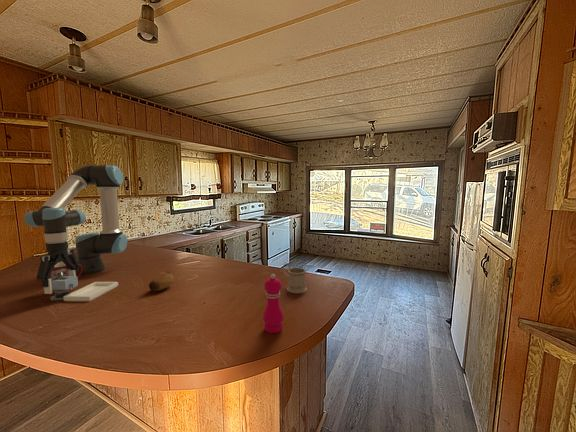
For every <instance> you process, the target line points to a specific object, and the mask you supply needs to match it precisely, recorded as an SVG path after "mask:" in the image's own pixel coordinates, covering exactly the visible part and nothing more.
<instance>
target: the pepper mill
mask: <svg viewBox="0 0 576 432" xmlns="http://www.w3.org/2000/svg"><path fill="white" fill-rule="evenodd" d="M263 287H264V289H265V296H266V298H267V303H266V306H265V309H264V311H263V314H262V320H263V322H264V331H265V332H267V333H269V334H277V333H280V332H281V331H282V330H283V321H284V312H283V309H282V307H281V306H280V302H279V301H280V297H281V289H282V281H281V280H280V279H279V278H277V277H276V274H274V273H272V274H270V278H267V279H266V280H265V282H264V286H263Z"/></svg>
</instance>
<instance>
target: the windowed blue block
mask: <svg viewBox="0 0 576 432" xmlns="http://www.w3.org/2000/svg"><path fill="white" fill-rule="evenodd" d="M49 279H51V285H52V291H54V290H66V289H69V288H74V289H75V288H77V287H78V285H79V281H78V279H79V278H78V279H77V275H76V276H63V279H64V280H58V279H57V276H55V277H53V278H51V277H49ZM42 288H43V289H44V287H43V286H42Z"/></svg>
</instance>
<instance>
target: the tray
mask: <svg viewBox="0 0 576 432" xmlns="http://www.w3.org/2000/svg"><path fill="white" fill-rule="evenodd" d="M117 287H119V282H118V281H94V282H92V283H90V284H87V285H85V286H83V287H81V288H78V289H76V290H74V291H72V293H70V294H68V295H66V296H63V297H64V300H63V301H64V302H91V301H94V300H95V299H97V298H99V297H101V296H102V295H104V294H106V293H108V292H110V291H112V290H113V289H115V288H117Z"/></svg>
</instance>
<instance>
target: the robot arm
mask: <svg viewBox="0 0 576 432" xmlns="http://www.w3.org/2000/svg"><path fill="white" fill-rule="evenodd" d="M123 182H124V175H123V172H122V170H121V169H120V168H119V167H118V166H116V165H111V164H110V165H109V164H100V165H99V164H88V165H84V166H81V167H79V168H77V169H76V170H74V171H72V172H71V173H70V174H69V175H68V176H67V177H66V181H65V182H64V183H63V184H62V185H61V186H60V187H59V188H58V189H57V190H56V191H55V192H54V193H53V194H52V195H51V196H50V197H49V198H48V199H47V200H46V201H45V202H44V203H43V204H42V205H41V206H40V207H39V208H38V209H37V210H32V211H28V212H26V213H25V214H24V218H23V219H24V220H23V221H24V222H25V224H26V225H27V226H29V227H34V228H35V227H37V228H41V227H43V229H44V232H43V234H44V242H45V244H44V245H45V251H46V253H47V255H45V256H43V255H42V256H40V257H39V259H40V260H39V261H40V263H39V266H38V271H37V275H36V277H35V279H36V280H37V281H41V283H42V288H43V287H44V288H43V290H44V291H43V292H44V294H45V295H52V294H53V290H52V285H51V279H50V278H51V273H52V271H53V269H54V267H55V265H56V264H57V263H61V262H63V263H64V264H65V265H66V266H67V267H68V268H69V269H70V270H69V271H68V273H69V276H77V274H78V272H79V267H80V265H81V266H82V272H81V274H80V275H88V274H94V273H98V272H101V271H103V270H105V269H106V264H105V262H104V260H103V258H102V254H103V255H104V254H120V253H122V252H124V251H125V250H126V248H127V246H128V237H127V235H126V234H125V233H123V230H122V228H121V229H120V215H119V204H118V203H119V201H118V190H119V189H120V185H122V184H123ZM92 185H95V187H96V189H97V190H99V200H100V211H101V213H100V215H101V228H102V230H101V231H99V232H98V231H97V232H90V233H85V234H79V235H76V237H75V251H76V252H74V249H69V242H68V240H69V239H68V230H67V228H68V227H73V226H79V225H81V224H84V223H85V221H86V215H85V213H84V212H83V211H82V210H79V209H72V210H66V209H65V208H66V207H67V206H68V205H69V204H70V203H71V201H72V200H73V199H74V198H75V197H76V196H77V195H78V193H80V192H81V190H84V189H86V188H87V187H88V186H92ZM75 253H76V254H75ZM75 264H76V265H75ZM79 264H80V265H79Z"/></svg>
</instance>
